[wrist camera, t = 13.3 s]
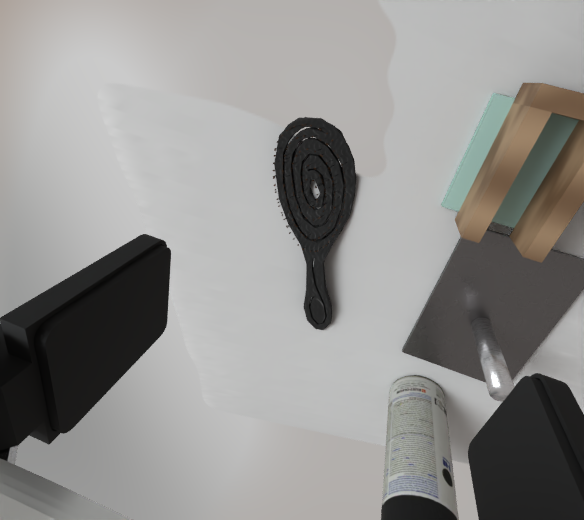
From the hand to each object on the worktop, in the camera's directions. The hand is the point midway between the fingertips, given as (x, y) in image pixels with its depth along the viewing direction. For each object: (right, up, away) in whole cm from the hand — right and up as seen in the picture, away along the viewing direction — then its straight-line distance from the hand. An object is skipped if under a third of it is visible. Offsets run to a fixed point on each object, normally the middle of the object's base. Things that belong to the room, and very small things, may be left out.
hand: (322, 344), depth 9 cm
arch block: (+19, +10, +21) cm, 30 cm away
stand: (+20, -3, +28) cm, 35 cm away
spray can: (+15, -15, +36) cm, 42 cm away
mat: (+19, +10, +22) cm, 31 cm away
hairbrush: (+2, +5, +30) cm, 31 cm away
